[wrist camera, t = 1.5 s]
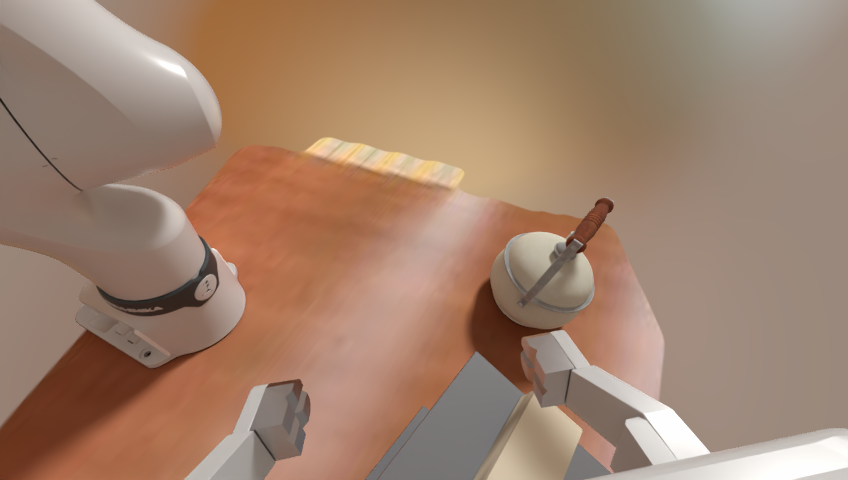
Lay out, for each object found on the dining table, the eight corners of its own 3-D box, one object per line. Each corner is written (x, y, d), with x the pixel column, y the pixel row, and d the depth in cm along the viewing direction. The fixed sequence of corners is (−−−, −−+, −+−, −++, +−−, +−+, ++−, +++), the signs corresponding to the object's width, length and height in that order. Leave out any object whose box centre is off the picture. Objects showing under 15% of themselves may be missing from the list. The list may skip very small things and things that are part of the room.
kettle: (536, 365, 55) (635, 302, 36) (460, 298, 61) (511, 214, 42) (584, 286, 69) (673, 212, 50) (519, 238, 75) (576, 155, 56)
